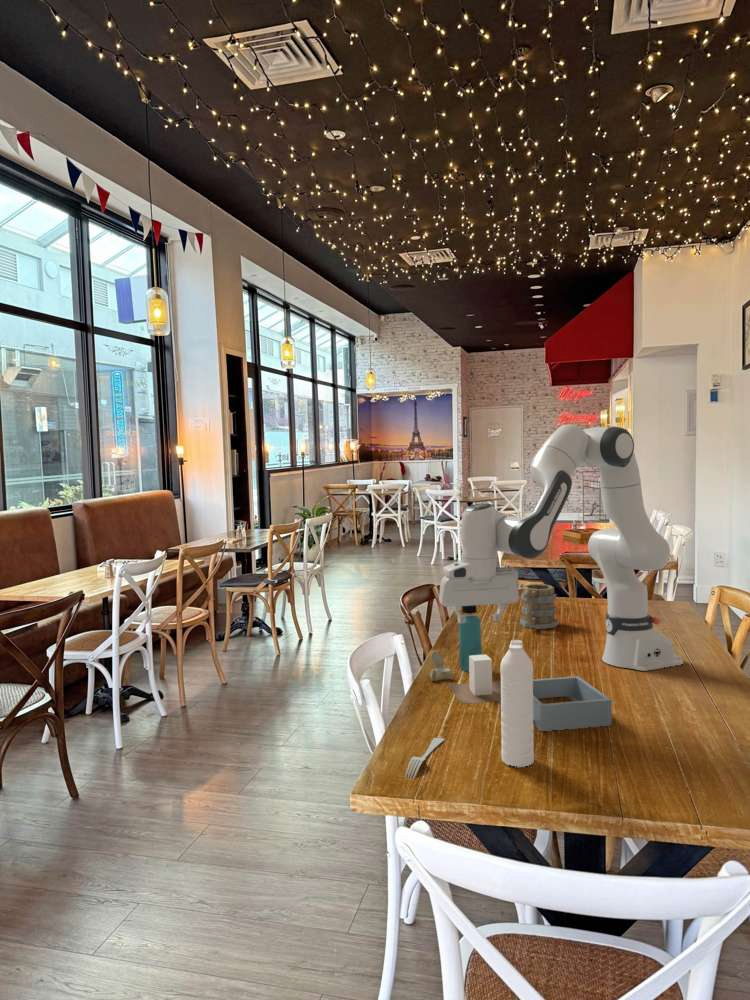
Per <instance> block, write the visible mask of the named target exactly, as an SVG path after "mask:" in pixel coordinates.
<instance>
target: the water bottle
mask: <svg viewBox="0 0 750 1000" xmlns="http://www.w3.org/2000/svg"><path fill="white" fill-rule="evenodd" d="M509 643H510V644H509V646H508V650H507V651H506V653H505V655H504V656H503V657H502V659H501V661H500V666H499V667H500V683H501V701H500V710H501V711H500V719H501V721H500V725H501V727H500V731H501V733H500V735H501V739H500V740H501V749H500V750H501V751H500V752H501V757H500V758H501V761H502V763H504V764H505V765H507V766H509V765H511V766H510V767H513V766H515V767H514V768H526V767H525V766H528V767H530V766H531V764H532V765H533V764H534V762H535V753H534V752H535V750H534V747H535V743H534V741H535V740H534V736H535V734H534V727H535V726H534V725H533V720H534V719H533V680H534V677H533V676H534V665H533V662H532V659H531V658H530V656H528V653H527V652H526V651H525V649H524V648H523V647H524V645H523V641H522V640H520V639H512V640H510V642H509ZM529 765H530V766H529ZM516 766H517V767H516Z"/></svg>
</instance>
